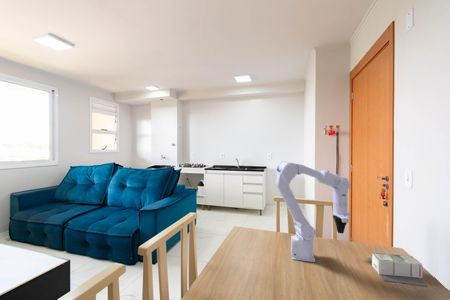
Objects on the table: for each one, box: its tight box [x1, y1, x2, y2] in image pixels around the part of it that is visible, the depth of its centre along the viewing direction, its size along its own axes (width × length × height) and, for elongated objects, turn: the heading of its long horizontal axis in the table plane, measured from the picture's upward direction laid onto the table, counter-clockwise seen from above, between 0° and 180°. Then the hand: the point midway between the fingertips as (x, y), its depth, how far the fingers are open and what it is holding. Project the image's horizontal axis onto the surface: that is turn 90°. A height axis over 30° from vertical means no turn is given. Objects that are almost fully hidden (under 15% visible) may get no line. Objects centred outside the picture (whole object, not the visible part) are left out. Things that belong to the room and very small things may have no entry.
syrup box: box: [371, 252, 424, 279], centre depth 81 cm, size 6×6×14 cm
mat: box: [366, 257, 428, 287], centre depth 82 cm, size 13×16×1 cm
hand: (340, 232), depth 94 cm, fingers closed
